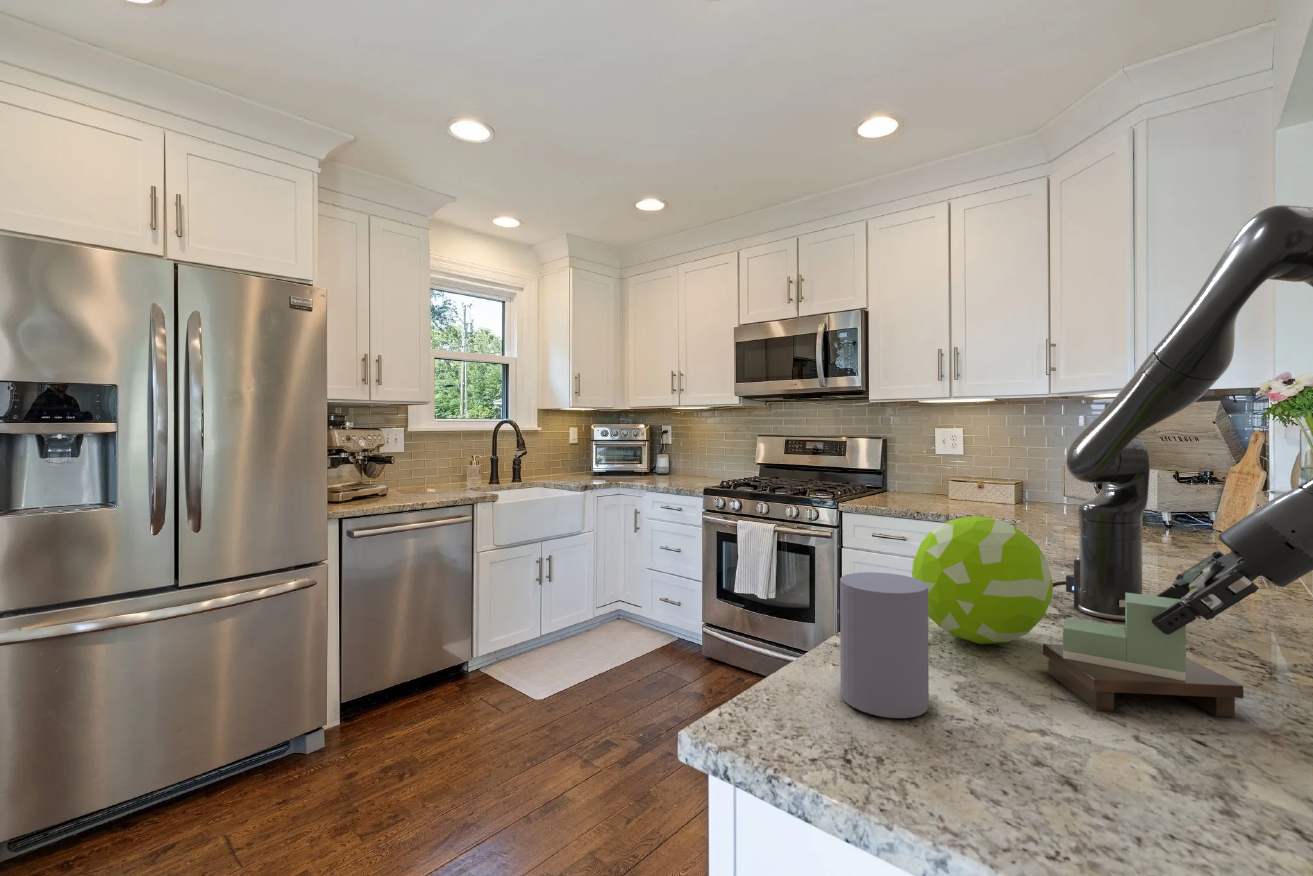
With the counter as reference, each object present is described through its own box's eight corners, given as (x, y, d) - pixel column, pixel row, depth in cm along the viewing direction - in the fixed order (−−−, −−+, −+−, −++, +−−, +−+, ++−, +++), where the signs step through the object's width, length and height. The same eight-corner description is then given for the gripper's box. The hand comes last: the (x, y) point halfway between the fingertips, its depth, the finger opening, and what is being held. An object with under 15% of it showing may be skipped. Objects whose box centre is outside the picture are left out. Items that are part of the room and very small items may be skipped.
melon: (1074, 635, 97) (1074, 514, 97) (1025, 678, 80) (1025, 532, 80) (948, 609, 112) (948, 504, 112) (885, 640, 95) (885, 517, 95)
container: (887, 728, 67) (887, 597, 67) (823, 693, 76) (822, 578, 76) (947, 708, 72) (947, 586, 72) (880, 677, 81) (879, 569, 81)
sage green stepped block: (1180, 666, 74) (1181, 599, 74) (1185, 681, 70) (1185, 610, 70) (1065, 645, 82) (1065, 584, 81) (1063, 658, 77) (1063, 593, 77)
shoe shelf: (1094, 712, 71) (1094, 679, 71) (1042, 672, 83) (1042, 643, 82) (1243, 719, 69) (1243, 685, 69) (1168, 677, 80) (1168, 648, 80)
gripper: (1243, 504, 74) (1126, 582, 81) (1268, 518, 62) (1130, 607, 70) (1305, 552, 71) (1178, 628, 78) (1343, 575, 59) (1190, 662, 66)
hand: (1155, 618), depth 74 cm, fingers open, 8 cm apart
